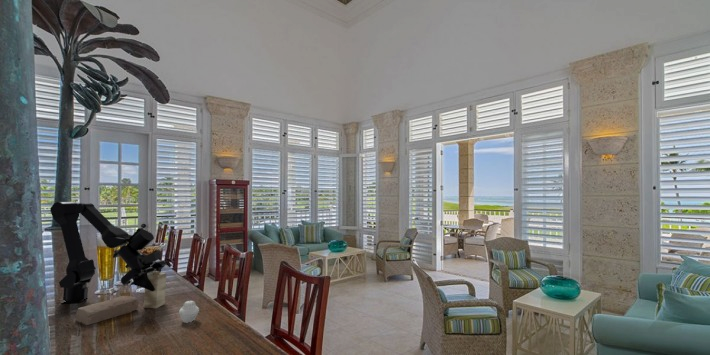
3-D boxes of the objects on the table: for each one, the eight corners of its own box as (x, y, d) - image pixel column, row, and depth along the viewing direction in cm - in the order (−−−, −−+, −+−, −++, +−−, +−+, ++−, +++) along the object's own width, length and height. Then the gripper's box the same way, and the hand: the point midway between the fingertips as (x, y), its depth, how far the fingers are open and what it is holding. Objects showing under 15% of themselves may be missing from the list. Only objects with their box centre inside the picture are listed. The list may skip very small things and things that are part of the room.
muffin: (175, 325, 113) (177, 303, 113) (181, 318, 119) (182, 297, 119) (195, 324, 114) (196, 303, 114) (200, 317, 120) (201, 297, 120)
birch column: (143, 307, 127) (145, 273, 128) (152, 303, 132) (154, 270, 133) (156, 308, 127) (158, 273, 128) (164, 303, 132) (166, 270, 133)
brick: (88, 326, 110) (89, 311, 110) (73, 321, 114) (75, 306, 114) (139, 310, 125) (139, 298, 125) (125, 306, 129) (126, 294, 129)
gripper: (130, 248, 122) (158, 280, 120) (163, 240, 140) (187, 268, 139) (108, 269, 122) (135, 301, 121) (144, 258, 140) (168, 287, 139)
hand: (158, 288), depth 130 cm, fingers closed on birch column, 5 cm apart
